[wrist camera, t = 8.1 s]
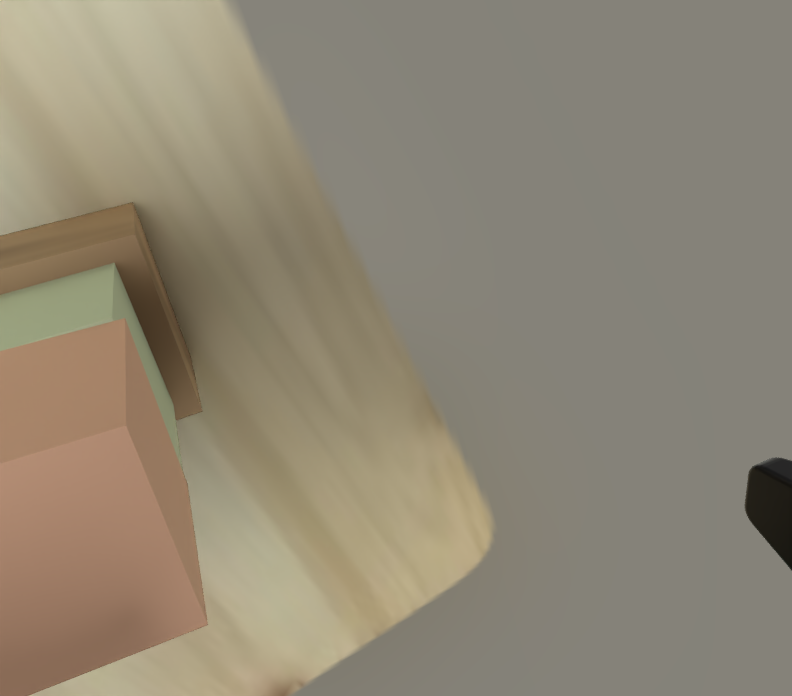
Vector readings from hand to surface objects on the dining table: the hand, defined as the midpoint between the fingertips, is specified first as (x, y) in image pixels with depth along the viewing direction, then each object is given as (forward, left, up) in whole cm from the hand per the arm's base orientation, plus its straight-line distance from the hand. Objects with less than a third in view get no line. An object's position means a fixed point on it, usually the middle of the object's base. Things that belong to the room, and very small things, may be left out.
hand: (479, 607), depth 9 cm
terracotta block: (-3, +5, -7) cm, 9 cm away
